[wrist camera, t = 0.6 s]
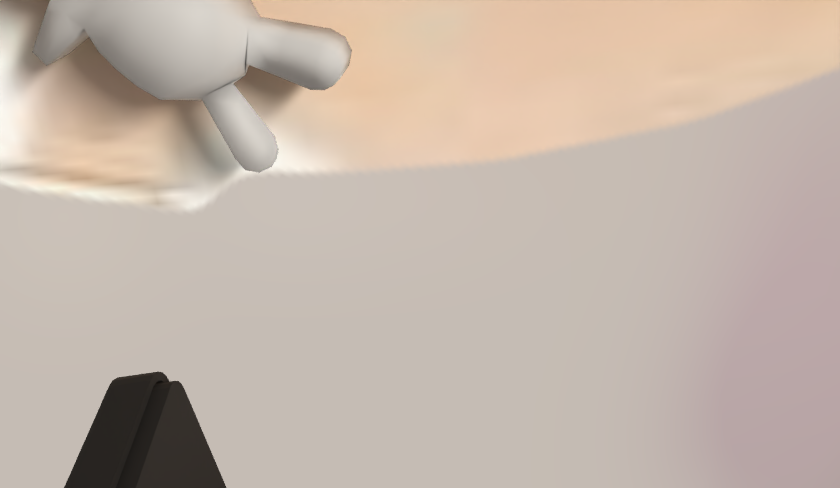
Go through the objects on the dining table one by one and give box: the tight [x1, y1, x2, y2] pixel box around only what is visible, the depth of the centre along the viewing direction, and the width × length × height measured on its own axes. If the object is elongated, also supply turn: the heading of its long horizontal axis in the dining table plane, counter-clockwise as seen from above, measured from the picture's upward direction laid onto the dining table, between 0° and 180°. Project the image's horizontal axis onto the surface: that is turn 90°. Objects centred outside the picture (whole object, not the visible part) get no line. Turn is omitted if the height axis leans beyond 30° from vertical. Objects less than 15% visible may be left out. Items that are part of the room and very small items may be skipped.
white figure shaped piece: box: [32, 0, 352, 172], centre depth 33 cm, size 10×5×15 cm
